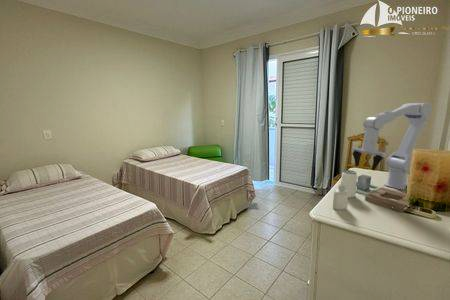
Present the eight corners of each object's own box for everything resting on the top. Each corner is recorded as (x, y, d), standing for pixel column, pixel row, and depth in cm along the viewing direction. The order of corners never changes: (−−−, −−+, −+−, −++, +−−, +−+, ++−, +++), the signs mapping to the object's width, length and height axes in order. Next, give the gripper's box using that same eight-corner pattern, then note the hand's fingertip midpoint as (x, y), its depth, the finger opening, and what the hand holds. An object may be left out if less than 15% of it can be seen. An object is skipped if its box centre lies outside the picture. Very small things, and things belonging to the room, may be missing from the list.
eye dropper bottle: (348, 211, 86) (351, 184, 84) (333, 209, 88) (335, 183, 86) (346, 206, 90) (349, 180, 88) (331, 205, 92) (334, 179, 90)
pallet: (381, 190, 106) (382, 187, 105) (417, 200, 94) (418, 196, 94) (364, 200, 96) (365, 196, 96) (402, 212, 85) (403, 207, 84)
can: (357, 198, 98) (360, 174, 96) (342, 197, 99) (344, 173, 97) (351, 192, 104) (354, 170, 102) (337, 192, 106) (340, 169, 103)
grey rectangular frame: (358, 183, 116) (358, 181, 116) (380, 189, 108) (381, 187, 107) (345, 188, 109) (345, 186, 109) (368, 195, 100) (368, 193, 100)
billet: (361, 186, 111) (362, 174, 110) (369, 189, 108) (371, 176, 107) (356, 189, 109) (358, 176, 107) (365, 191, 105) (366, 178, 104)
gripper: (350, 139, 106) (346, 165, 109) (383, 144, 94) (377, 172, 97) (357, 139, 110) (352, 163, 112) (390, 143, 98) (384, 171, 101)
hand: (364, 167), depth 105 cm, fingers open, 7 cm apart
